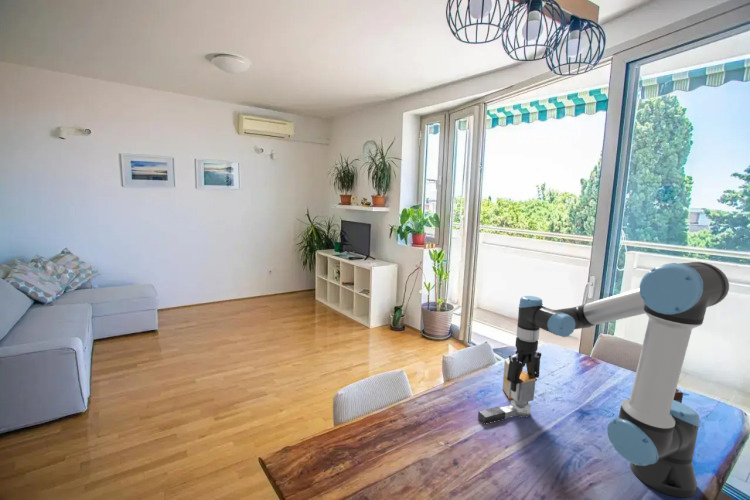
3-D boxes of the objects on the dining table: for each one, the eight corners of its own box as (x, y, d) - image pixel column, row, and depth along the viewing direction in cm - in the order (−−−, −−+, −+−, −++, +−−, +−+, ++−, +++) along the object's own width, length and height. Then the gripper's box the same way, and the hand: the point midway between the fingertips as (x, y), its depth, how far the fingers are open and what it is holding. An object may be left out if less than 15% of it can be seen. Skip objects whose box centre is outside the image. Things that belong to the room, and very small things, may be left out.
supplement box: (520, 399, 145) (523, 369, 143) (508, 399, 145) (511, 368, 143) (513, 389, 153) (516, 359, 151) (501, 388, 153) (504, 359, 151)
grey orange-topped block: (533, 400, 134) (535, 378, 133) (520, 403, 132) (523, 380, 131) (521, 392, 140) (523, 370, 139) (509, 394, 138) (511, 373, 136)
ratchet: (520, 404, 141) (521, 386, 140) (534, 414, 135) (536, 396, 134) (475, 415, 133) (476, 396, 132) (487, 427, 127) (489, 407, 126)
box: (670, 402, 147) (672, 385, 146) (681, 410, 141) (683, 393, 140) (654, 401, 148) (656, 384, 147) (664, 409, 142) (667, 392, 141)
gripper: (538, 331, 140) (532, 387, 143) (499, 337, 132) (494, 396, 136) (554, 339, 133) (548, 397, 136) (514, 345, 125) (508, 407, 129)
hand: (521, 396), depth 136 cm, fingers closed on grey orange-topped block, 6 cm apart
